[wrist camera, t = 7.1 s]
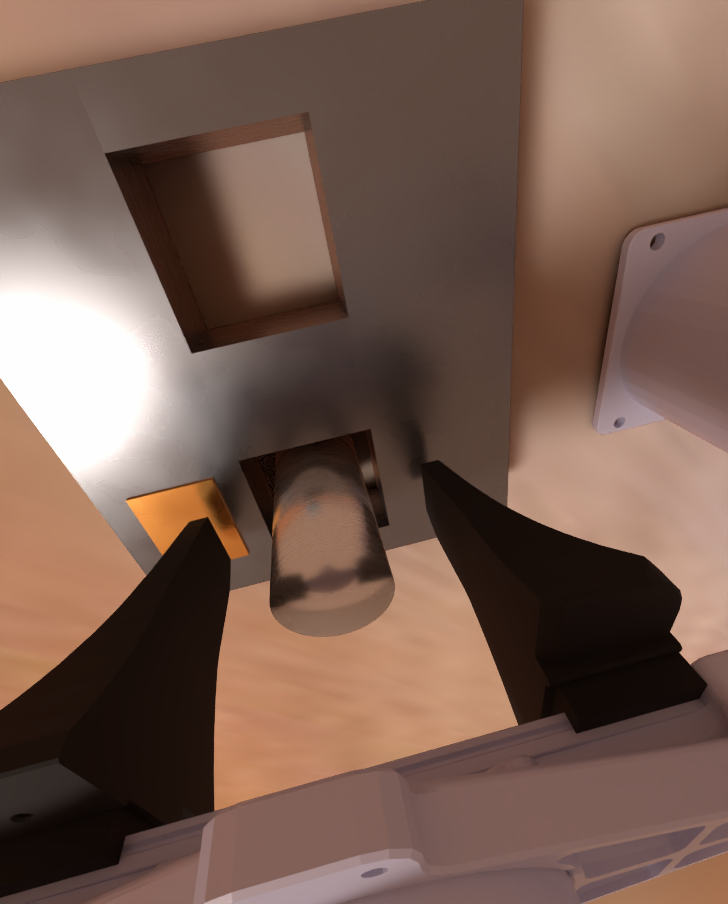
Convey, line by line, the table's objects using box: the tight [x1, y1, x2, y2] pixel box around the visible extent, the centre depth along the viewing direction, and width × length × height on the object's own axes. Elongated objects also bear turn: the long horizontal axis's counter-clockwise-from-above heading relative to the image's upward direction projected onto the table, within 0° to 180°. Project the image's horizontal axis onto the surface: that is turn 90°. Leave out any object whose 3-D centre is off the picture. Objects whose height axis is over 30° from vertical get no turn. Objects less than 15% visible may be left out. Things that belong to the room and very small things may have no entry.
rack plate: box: [0, 0, 523, 590], centre depth 13 cm, size 14×15×3 cm
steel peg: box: [270, 434, 395, 637], centre depth 13 cm, size 3×3×7 cm
